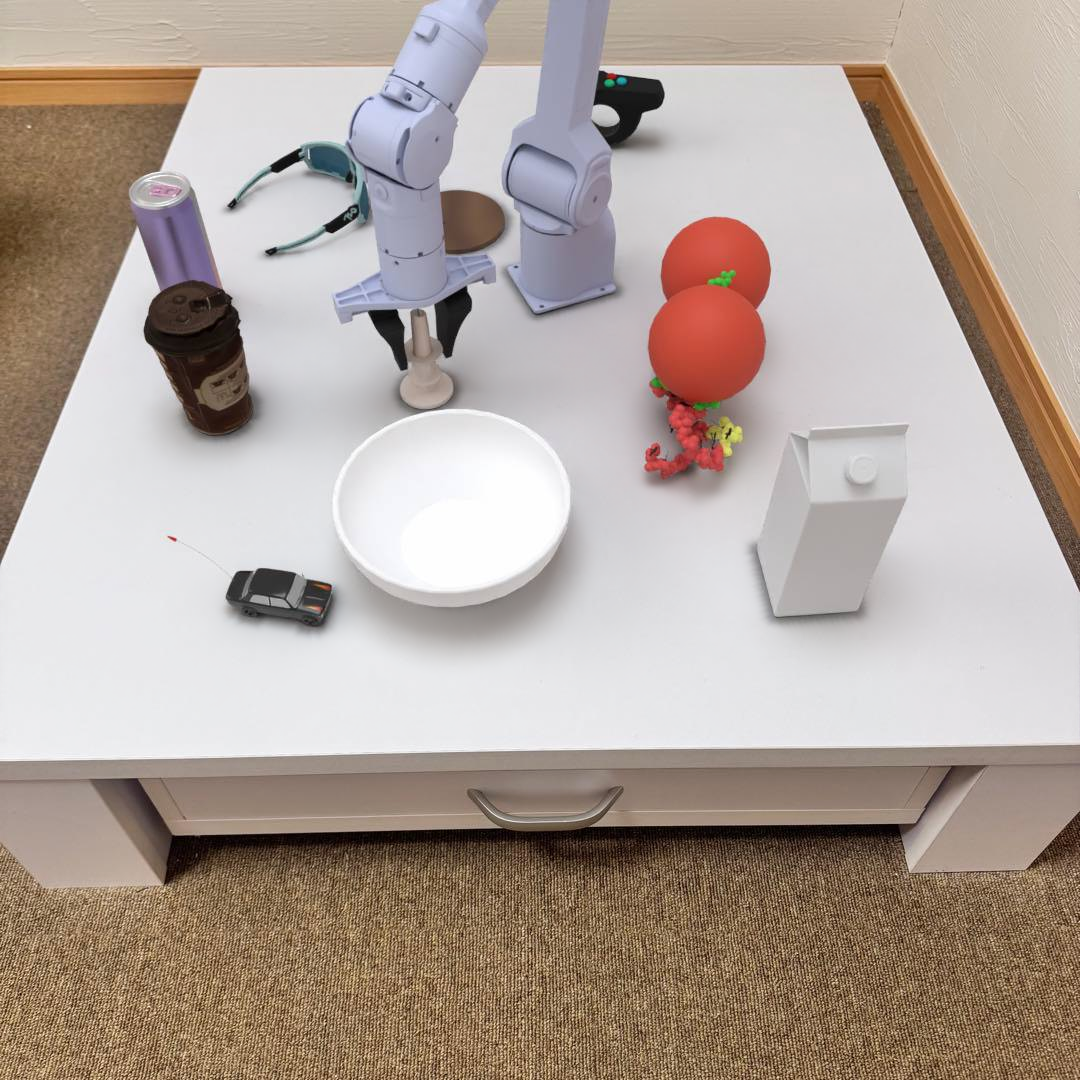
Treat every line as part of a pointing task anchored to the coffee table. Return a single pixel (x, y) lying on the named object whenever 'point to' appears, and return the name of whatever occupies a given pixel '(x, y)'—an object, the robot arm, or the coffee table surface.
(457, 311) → the robot arm
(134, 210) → the beverage can
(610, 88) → the controller
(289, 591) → the toy car
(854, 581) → the milk carton
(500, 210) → the coaster
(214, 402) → the coffee cup
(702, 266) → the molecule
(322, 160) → the sunglasses
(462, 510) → the bowl
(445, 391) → the candle
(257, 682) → the coffee table surface
